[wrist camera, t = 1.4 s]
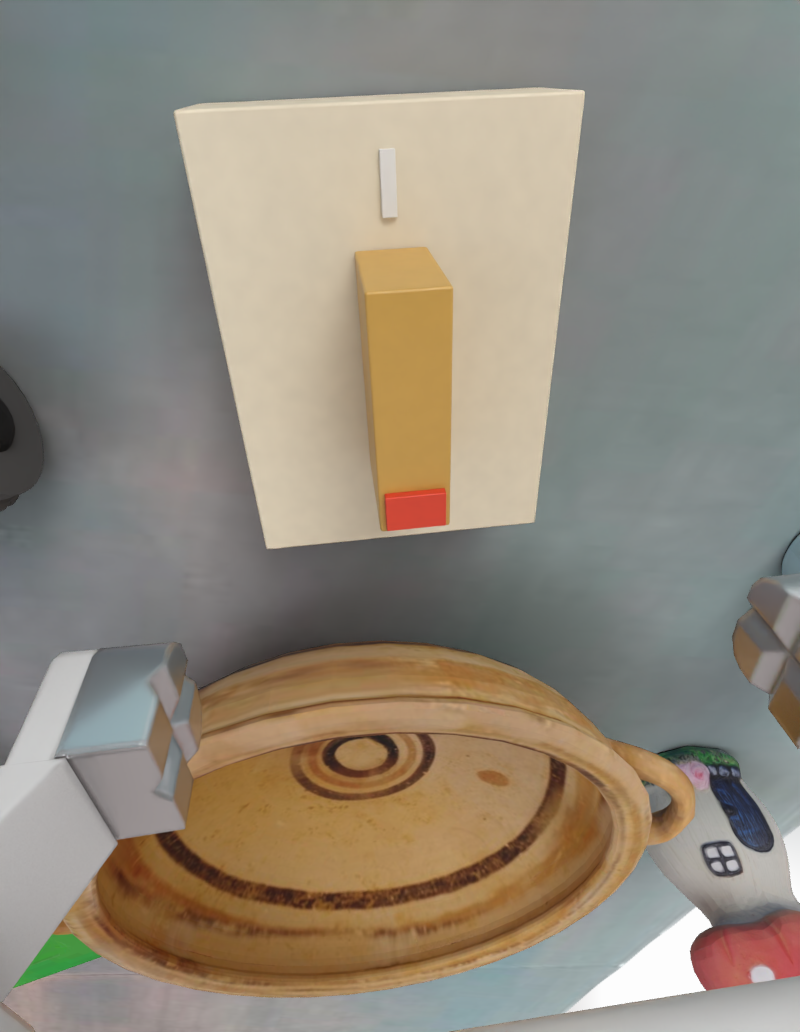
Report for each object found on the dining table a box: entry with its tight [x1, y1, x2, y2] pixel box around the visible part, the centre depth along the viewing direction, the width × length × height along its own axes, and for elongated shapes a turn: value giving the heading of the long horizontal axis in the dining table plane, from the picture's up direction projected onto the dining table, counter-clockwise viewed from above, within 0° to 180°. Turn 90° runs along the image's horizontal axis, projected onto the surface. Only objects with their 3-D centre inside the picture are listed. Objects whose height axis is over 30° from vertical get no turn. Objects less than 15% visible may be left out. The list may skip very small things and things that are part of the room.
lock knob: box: [355, 247, 453, 531], centre depth 15 cm, size 6×2×4 cm, turn 2°
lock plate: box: [174, 87, 585, 549], centre depth 18 cm, size 12×9×4 cm
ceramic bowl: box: [53, 641, 695, 997], centre depth 29 cm, size 30×24×8 cm
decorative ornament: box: [640, 746, 800, 991], centre depth 33 cm, size 9×6×15 cm
